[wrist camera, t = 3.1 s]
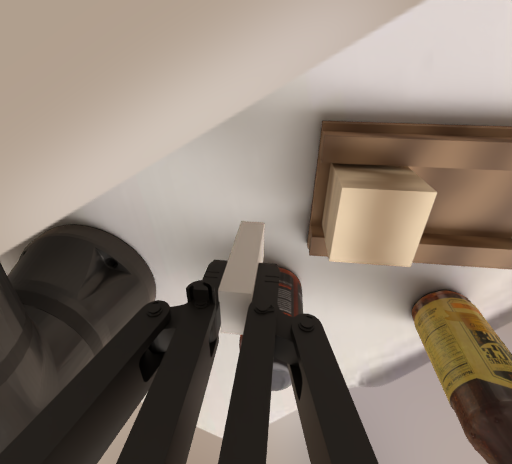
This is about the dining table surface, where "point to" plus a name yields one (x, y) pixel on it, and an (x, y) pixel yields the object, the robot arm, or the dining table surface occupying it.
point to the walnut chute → (433, 184)
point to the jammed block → (375, 214)
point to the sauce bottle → (470, 370)
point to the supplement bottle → (291, 306)
